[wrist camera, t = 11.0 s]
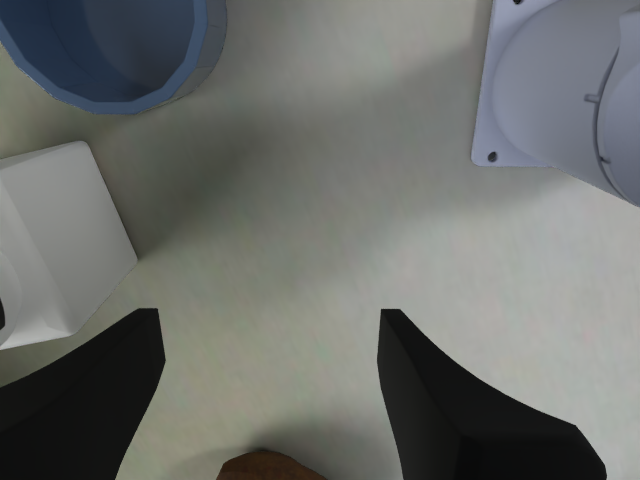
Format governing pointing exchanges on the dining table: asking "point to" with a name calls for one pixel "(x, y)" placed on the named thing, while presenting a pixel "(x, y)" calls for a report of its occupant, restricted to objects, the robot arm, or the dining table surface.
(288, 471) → the potato
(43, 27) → the cup
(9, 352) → the dining table surface
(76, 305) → the medicine bottle
